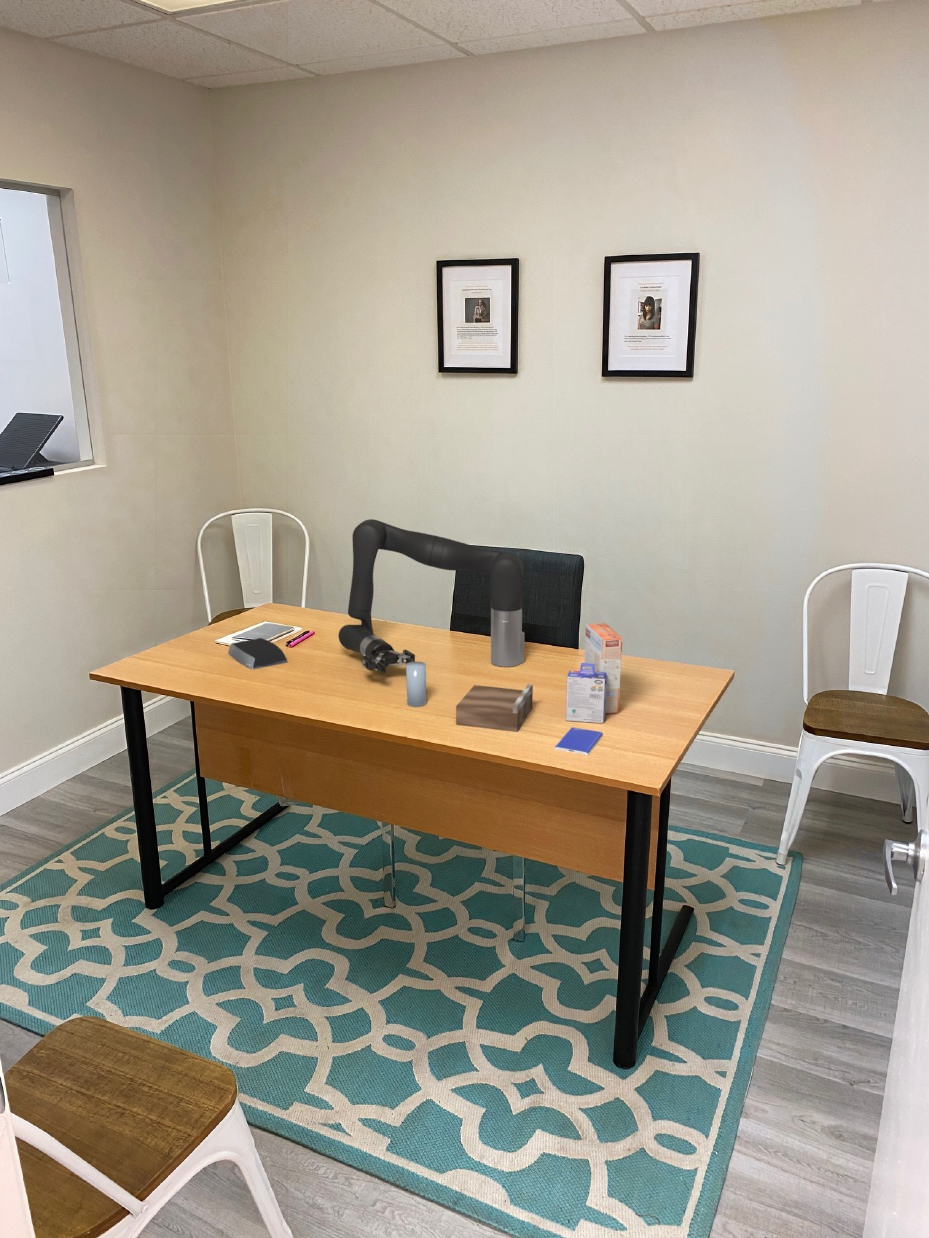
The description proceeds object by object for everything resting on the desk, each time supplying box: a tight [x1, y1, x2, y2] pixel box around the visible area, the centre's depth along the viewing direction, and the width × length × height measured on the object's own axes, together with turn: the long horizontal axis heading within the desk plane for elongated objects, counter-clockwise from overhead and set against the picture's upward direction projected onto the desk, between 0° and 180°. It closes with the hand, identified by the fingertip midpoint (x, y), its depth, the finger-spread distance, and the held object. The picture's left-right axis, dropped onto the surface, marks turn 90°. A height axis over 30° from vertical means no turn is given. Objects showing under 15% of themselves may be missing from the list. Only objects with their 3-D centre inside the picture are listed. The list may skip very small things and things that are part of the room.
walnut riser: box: [455, 683, 534, 733], centre depth 242 cm, size 16×16×7 cm
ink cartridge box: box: [565, 662, 607, 724], centre depth 239 cm, size 10×6×14 cm, turn 78°
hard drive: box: [554, 727, 604, 756], centre depth 227 cm, size 2×8×12 cm
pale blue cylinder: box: [405, 661, 427, 708], centre depth 250 cm, size 5×5×11 cm
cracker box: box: [583, 622, 623, 715], centre depth 247 cm, size 14×6×21 cm, turn 9°
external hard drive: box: [227, 637, 289, 671], centre depth 289 cm, size 13×19×4 cm
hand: (399, 667), depth 259 cm, fingers open, 8 cm apart
